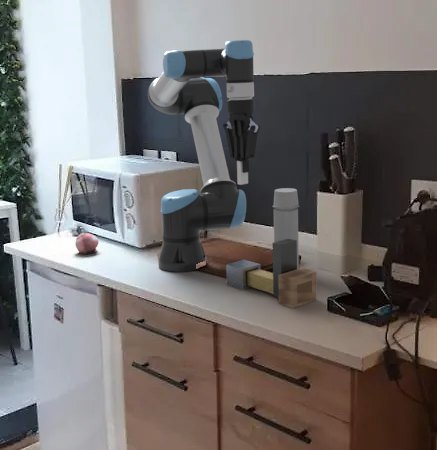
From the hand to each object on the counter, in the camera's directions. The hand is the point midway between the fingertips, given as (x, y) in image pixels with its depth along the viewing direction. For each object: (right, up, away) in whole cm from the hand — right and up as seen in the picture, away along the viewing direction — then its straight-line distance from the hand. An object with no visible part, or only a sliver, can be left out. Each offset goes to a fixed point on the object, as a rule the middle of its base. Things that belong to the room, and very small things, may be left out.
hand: (242, 183), depth 202 cm
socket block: (+14, -32, -13) cm, 37 cm away
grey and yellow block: (+8, -29, -6) cm, 31 cm away
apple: (-51, -21, +43) cm, 70 cm away
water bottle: (+14, -26, +13) cm, 32 cm away
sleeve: (0, -29, +3) cm, 29 cm away
